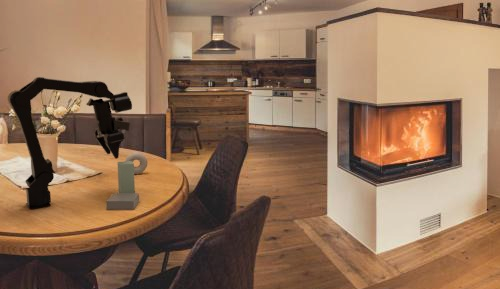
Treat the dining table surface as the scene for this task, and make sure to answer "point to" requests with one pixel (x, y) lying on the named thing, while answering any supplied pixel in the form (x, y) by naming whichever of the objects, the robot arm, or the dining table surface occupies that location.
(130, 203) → the slate plinth
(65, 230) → the dining table surface
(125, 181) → the sage green block
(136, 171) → the donut
